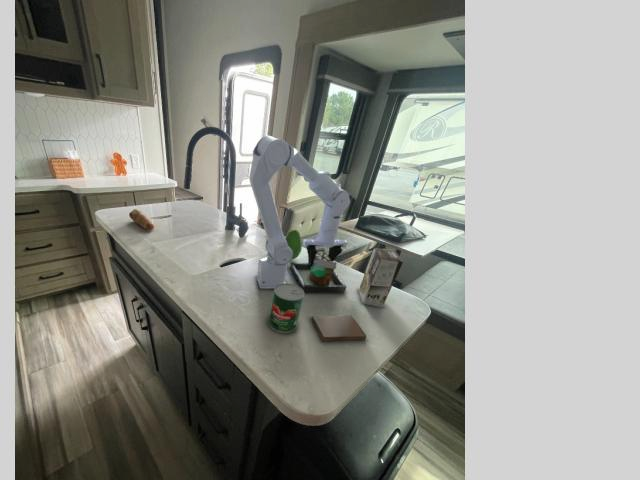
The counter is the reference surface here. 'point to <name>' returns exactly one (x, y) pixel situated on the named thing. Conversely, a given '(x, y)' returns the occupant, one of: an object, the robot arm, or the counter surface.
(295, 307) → the canned tomato
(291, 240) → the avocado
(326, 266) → the food container
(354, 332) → the cutting board
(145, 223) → the bread
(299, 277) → the dark square tray
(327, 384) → the counter surface
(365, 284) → the coffee box
